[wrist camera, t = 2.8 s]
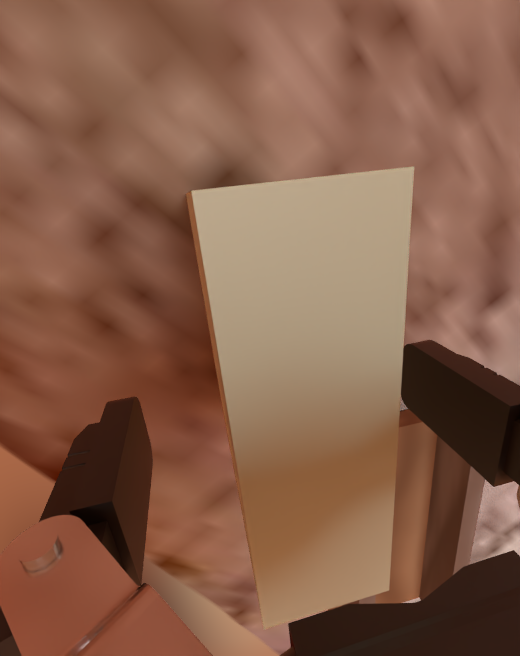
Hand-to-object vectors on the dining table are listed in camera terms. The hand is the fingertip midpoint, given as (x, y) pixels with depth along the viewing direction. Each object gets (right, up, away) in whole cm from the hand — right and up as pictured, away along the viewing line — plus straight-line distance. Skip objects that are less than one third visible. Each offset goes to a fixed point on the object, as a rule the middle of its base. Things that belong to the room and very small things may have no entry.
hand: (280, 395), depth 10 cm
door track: (+9, -13, +17) cm, 23 cm away
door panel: (-2, +3, +9) cm, 10 cm away
